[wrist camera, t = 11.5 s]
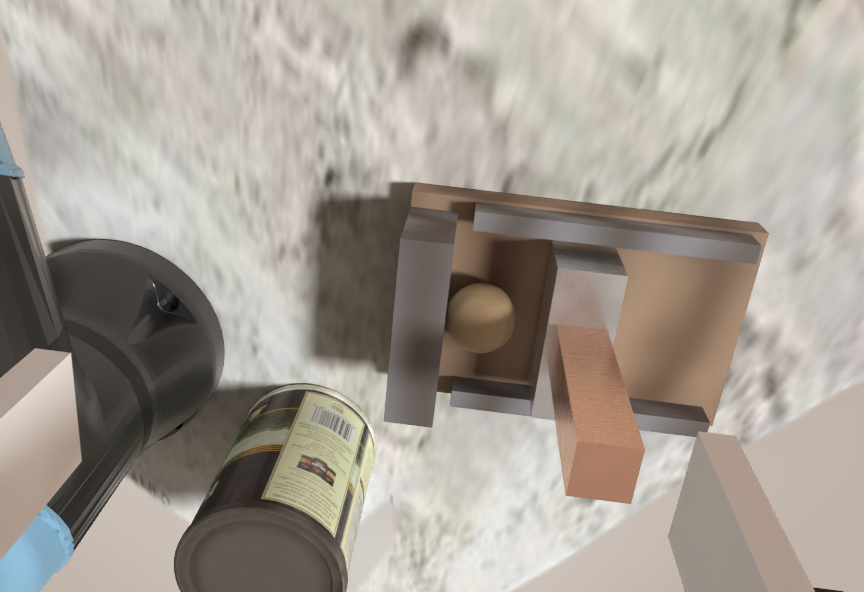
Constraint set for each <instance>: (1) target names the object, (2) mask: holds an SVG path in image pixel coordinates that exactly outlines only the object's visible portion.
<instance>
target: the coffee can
mask: <svg viewBox="0 0 864 592" xmlns="http://www.w3.org/2000/svg"><path fill="white" fill-rule="evenodd" d="M376 451H377V447H376V438H375V434H374V430H373V428H372V425H371V423H370V421H369V420H368V418H367V417H366V415H365V414H364V413H363V411H362V410H361V409H360V408H359V407H358V406H357V405H356V404H354V403H353V402H352V401H351V400H349V399H348V398H347V397H345V396H343V395H341V394H340V393H338V392H336V391H333V390H331V389H328V388H325V387H321V386H315V385H310V384H305V385H300V384H297V385H289V386H284V387H281V388H278V389H275V390H273V391H271V392H269V393H267V394H266V395H264V396H263V397H261V398H260V399H259V400H258V401H257V402H256V403H255V404H254V405H253V406H252V408H251V409H250V411H249V413H248V414H247V417H246V419H245V422H244V424H243V426H242V428H241V430H240V432H239V434H238V436H237V438H236V440H235V442H234V444H233V446H232V448H231V450H230V452H229V454H228V456H227V457H226V459H225V461H224V463H223V465H222V467H221V469H220V471H219V472H218V474H217V476H216V478H215V480H214V482H213V484H212V485H211V487H210V489H209V491H208V493H207V495H206V497H205V499H204V501H203V502H202V504H201V506H200V508H199V510H198V512H197V514H196V516H195V518H194V520H193V522H192V523H191V525H190V526H189V527H188V529H187V530H186V531H185V533H184V534H183V536H182V538H181V539H180V541H179V543H178V546H177V548H176V552H175V557H174V572H175V578H176V581H177V585H178V587H179V589H180V591H181V592H346V590H347V583H348V577H347V575H348V571H349V566H350V562H351V557H352V553H353V548H354V544H355V539H356V535H357V531H358V526H359V522H360V517H361V513H362V509H363V504H364V500H365V495H366V491H367V487H368V482H369V478H370V473H371V469H372V466H373V464H374V461H375V456H376Z"/></svg>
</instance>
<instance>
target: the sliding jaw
mask: <svg viewBox="0 0 864 592" xmlns="http://www.w3.org/2000/svg"><path fill="white" fill-rule="evenodd" d="M627 281H628V274H627V272H626V270H625V267H624V265H623V263H622V260H621V258H620V256H619V253H618V251H617V249H616V248H612V247H603V246H595V245H586V244H578V243H570V242H561V241H553V240H552V244H551V250H550V255H549V261H548V267H547V272H546V278H545V284H544V290H543V295H542V301H541V307H540V313H539V318H538V324H537V330H536V336H535V341H534V347H533V353H532V358H531V364H530V370H529V376H528V387H529V399H530V411H531V417H534V418H542V419H550V420H555V422H556V429H557V436H558V444H559V451H560V458H561V465H562V473H563V480H564V487H565V494H566V496H573V497H581V498H589V499H596V500H604V501H612V502H620V503H628V504H631V502H632V498H633V494H634V490H635V486H636V482H637V478H638V474H639V470H640V466H641V462H642V459H643V455H644V451H645V449H644V445H643V442H642V439H641V436H640V433H639V429H638V426H637V423H636V420H635V417H634V413H633V410H632V407H631V404H630V401H629V397H628V394H627V391H626V388H625V384H624V381H623V378H622V375H621V372H620V368H619V365H618V362H617V359H616V356H615V352H614V349H613V344H614V339H615V335H616V330H617V326H618V321H619V317H620V312H621V308H622V303H623V299H624V294H625V290H626V285H627Z"/></svg>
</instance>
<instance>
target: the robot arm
mask: <svg viewBox="0 0 864 592" xmlns="http://www.w3.org/2000/svg"><path fill="white" fill-rule="evenodd" d="M24 177H25V176H24V172H23V170H22V169H21V168H20V167H19V166H17V165H16V163H15V161H14V158H13V156H12V153H11V150H10V147H9V145H8V142H7V139H6V136H5V134H4V131H3V128H2V125H1V123H0V592H40V591H41V590H42V588H43V587H44V586H45V585H46V583H47V582H48V581H49V580H50V579H51V577H52V576H53V575H54V574H55V573H57V572H58V571H59V570H61V569H62V567H63V566H64V565H66V564H67V563H68V562H69V560H70V558H71V556H72V554H73V552H74V550H75V549H76V547H77V546H78V544H79V543H80V541H81V540H82V538H83V537H84V535H85V534H86V532H87V531H88V530H89V528H90V527H91V525H92V524H93V522H94V521H95V519H96V518H97V516H98V515H99V513H100V512H101V510H102V509H103V507H104V506H105V504H106V503H107V502H108V500H109V499H110V497H111V496H112V494H113V493H114V491H115V490H116V488H117V487H118V485H119V484H120V482H121V481H122V479H123V478H124V476H125V475H126V474H127V472H128V471H129V469H130V468H131V466H132V465H133V463H134V462H135V460H136V459H137V457H138V456H139V455H140V453H141V452H143V451H144V450H146V449H148V448H149V447H151V446H152V445H153V444H154V443H155V442H156V441H159V440H162V439H164V438H166V437H168V436H170V435H172V434H174V433H176V432H178V431H179V430H181V429H182V428H184V427H185V426H186V425H188V424H189V423H190V422H191V421H192V420H193V419H194V418H195V417H196V416H197V415H198V414H199V413H200V411H201V410H202V409H203V407H204V406H205V404H206V403H207V401H208V400H209V398H210V397H211V395H212V394H213V392H214V390H215V389H216V387H217V385H218V382H219V380H220V377H221V374H222V370H223V365H224V340H223V335H222V330H221V327H220V324H219V321H218V318H217V316H216V314H215V312H214V309H213V308H212V306H211V304H210V302H209V301H208V299H207V298H206V296H205V295H204V293H203V292H202V291H201V289H200V288H199V287H198V286H197V285H196V283H195V282H194V281H193V280H192V279H191V278H190V277H189V276H188V275H187V274H185V273H184V272H183V271H182V270H181V269H179V268H178V267H177V266H176V265H174V264H173V263H171V262H170V261H168V260H167V259H165V258H163V257H162V256H160V255H158V254H156V253H154V252H152V251H150V250H147V249H145V248H142V247H139V246H136V245H133V244H129V243H125V242H120V241H112V240H89V241H82V242H77V243H73V244H70V245H67V246H65V247H62V248H60V249H58V250H56V251H54V252H52V253H51V254H49V255H48V256H46V257H45V254H44V251H43V248H42V244H41V241H40V238H39V235H38V231H37V228H36V224H35V221H34V218H33V215H32V211H31V208H30V205H29V201H28V198H27V195H26V191H25V188H24V185H23V181H22V178H24ZM668 538H669V541H670V544H671V548H672V551H673V554H674V557H675V561H676V564H677V567H678V570H679V574H680V577H681V580H682V584H683V587H684V590H685V592H843V591H836V590H828V589H820V588H813V587H812V585H811V583H810V581H809V579H808V577H807V575H806V573H805V571H804V569H803V567H802V565H801V563H800V561H799V559H798V557H797V555H796V553H795V551H794V549H793V547H792V545H791V544H790V542H789V540H788V538H787V536H786V534H785V532H784V530H783V528H782V526H781V524H780V522H779V520H778V518H777V516H776V514H775V512H774V510H773V508H772V506H771V504H770V503H769V500H768V498H767V496H766V495H765V493H764V491H763V489H762V487H761V485H760V483H759V481H758V479H757V477H756V475H755V473H754V471H753V469H752V467H751V465H750V463H749V461H748V459H747V457H746V455H745V453H744V451H743V449H742V447H741V446H740V444H739V442H738V440H737V438H736V436H732V435H724V434H716V433H708V432H700V431H698V434H697V437H696V441H695V444H694V448H693V451H692V455H691V458H690V462H689V465H688V469H687V472H686V476H685V479H684V483H683V487H682V490H681V493H680V497H679V500H678V504H677V507H676V511H675V514H674V518H673V521H672V525H671V528H670V532H669V535H668Z"/></svg>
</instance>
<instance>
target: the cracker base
mask: <svg viewBox="0 0 864 592" xmlns="http://www.w3.org/2000/svg"><path fill="white" fill-rule="evenodd" d="M768 234H769V233H768V232H767V231H766V230H765V229H764V228H763V227H762V226H761V225H760V224H759V223H753V222H744V221H736V220H727V219H719V218H710V217H702V216H693V215H685V214H677V213H668V212H660V211H651V210H643V209H634V208H626V207H617V206H609V205H601V204H592V203H584V202H575V201H567V200H558V199H550V198H541V197H533V196H525V195H516V194H508V193H499V192H491V191H482V190H474V189H465V188H457V187H449V186H440V185H432V184H423V183H415V184H414V187H413V190H412V197H411V207H410V210H409V213H408V216H407V219H406V222H405V225H404V228H403V231H402V234H401V237H400V246H399V257H398V268H397V279H396V291H395V302H394V313H393V324H392V335H391V346H390V357H389V368H388V380H387V391H386V402H385V413H384V422H392V423H400V424H408V425H416V426H424V427H432V424H433V417H434V409H435V401H436V393H437V392H444V393H451V401H450V406H452V407H460V408H468V409H476V410H484V411H492V412H500V413H508V414H516V415H524V416H531V411H530V399H529V387H528V376H529V370H530V364H531V358H532V353H533V347H534V341H535V336H536V330H537V324H538V318H539V313H540V307H541V301H542V295H543V290H544V284H545V278H546V272H547V267H548V261H549V255H550V250H551V244H552V240H553V241H561V242H570V243H578V244H586V245H595V246H603V247H612V248H616V249H617V251H618V253H619V256H620V258H621V260H622V263H623V265H624V267H625V270H626V272H627V274H628V281H627V285H626V290H625V294H624V299H623V303H622V308H621V312H620V317H619V321H618V326H617V330H616V335H615V339H614V344H613V349H614V352H615V356H616V359H617V362H618V365H619V368H620V372H621V375H622V378H623V381H624V384H625V388H626V391H627V394H628V397H629V401H630V404H631V407H632V410H633V413H634V417H635V420H636V423H637V426H638V429H639V430H644V431H652V432H660V433H668V434H676V435H684V436H692V437H697V434H698V431H700V432H708V428H709V426H712V425H713V421H714V418H715V415H716V411H717V408H718V404H719V401H720V398H721V394H722V391H723V387H724V384H725V381H726V377H727V374H728V370H729V367H730V364H731V360H732V357H733V353H734V350H735V347H736V343H737V340H738V336H739V333H740V330H741V326H742V323H743V319H744V316H745V313H746V309H747V306H748V302H749V299H750V296H751V292H752V289H753V285H754V282H755V279H756V275H757V272H758V268H759V265H760V262H761V258H762V255H763V251H764V248H765V245H766V241H767V238H768Z"/></svg>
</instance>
